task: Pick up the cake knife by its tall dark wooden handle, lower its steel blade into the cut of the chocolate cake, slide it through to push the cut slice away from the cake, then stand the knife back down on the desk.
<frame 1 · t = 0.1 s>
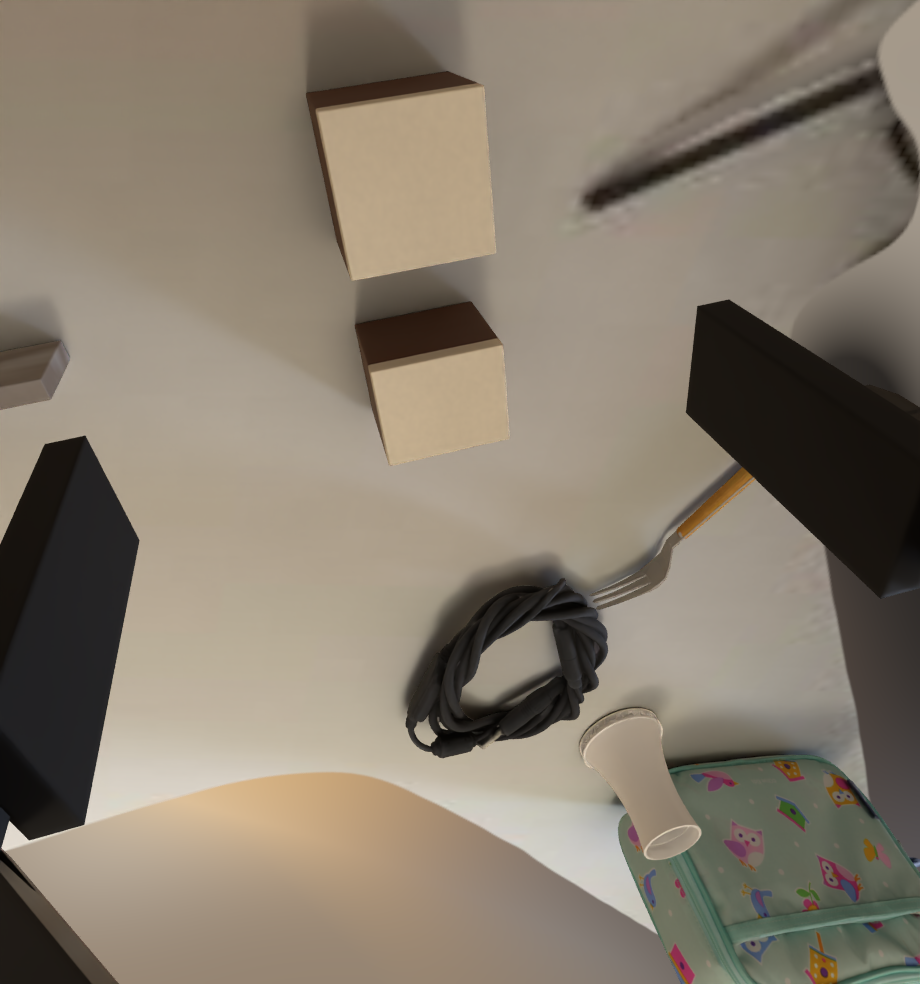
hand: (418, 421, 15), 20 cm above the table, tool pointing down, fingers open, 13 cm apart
cable: (511, 650, 52), on the table
cake: (390, 160, 30), on the table
vase: (617, 733, 62), on the table
lunch box: (724, 777, 72), on the table
cake slice: (420, 357, 36), on the table
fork: (698, 502, 47), on the table
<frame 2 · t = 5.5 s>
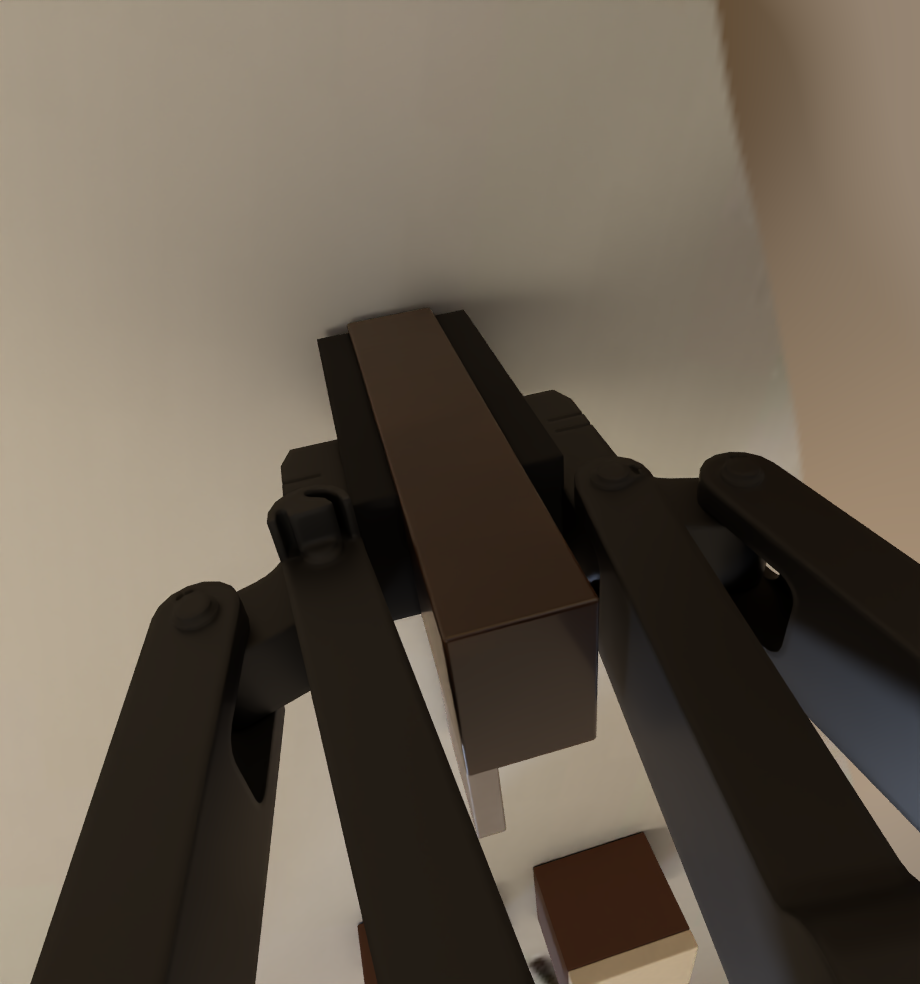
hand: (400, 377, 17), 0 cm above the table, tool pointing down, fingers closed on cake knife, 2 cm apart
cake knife: (398, 371, 17), on the table, touching gripper
cake: (588, 875, 37), on the table
cake slice: (415, 932, 36), on the table
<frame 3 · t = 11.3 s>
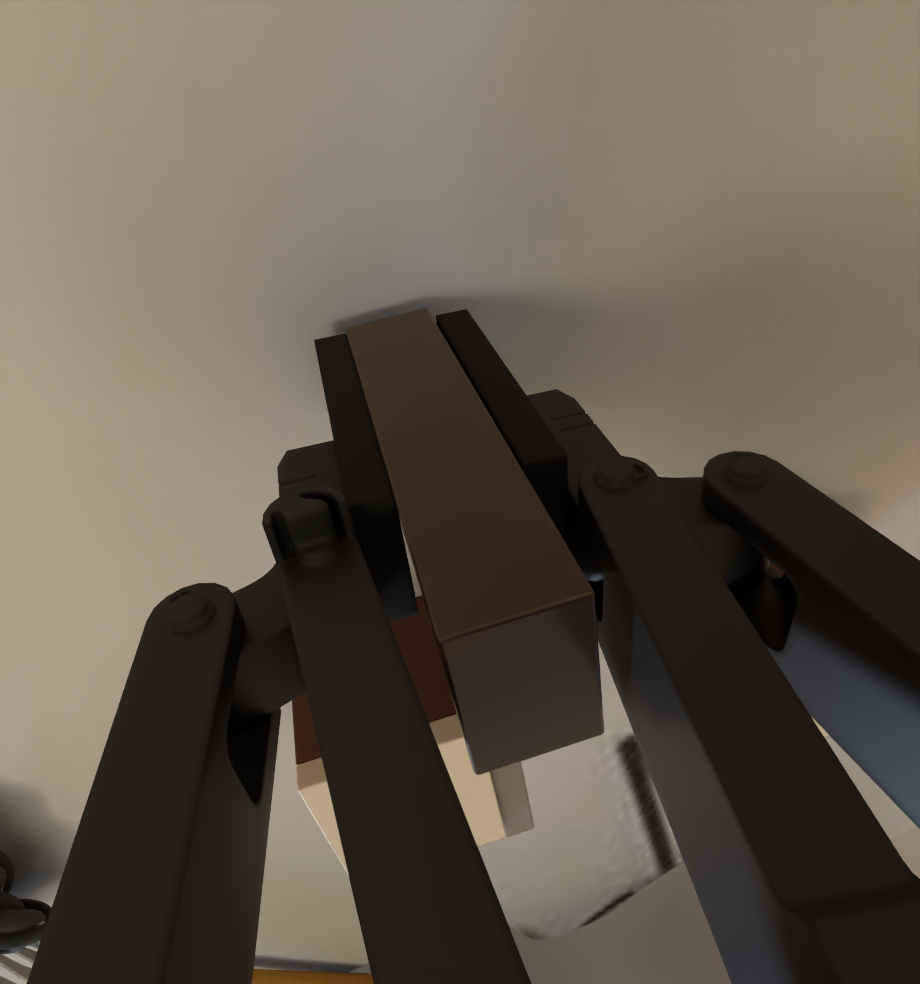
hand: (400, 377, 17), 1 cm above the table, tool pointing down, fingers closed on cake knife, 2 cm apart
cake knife: (399, 373, 17), point 1 cm above the table, touching cake slice, gripper
cake slice: (383, 670, 24), on the table, touching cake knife
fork: (212, 955, 33), on the table
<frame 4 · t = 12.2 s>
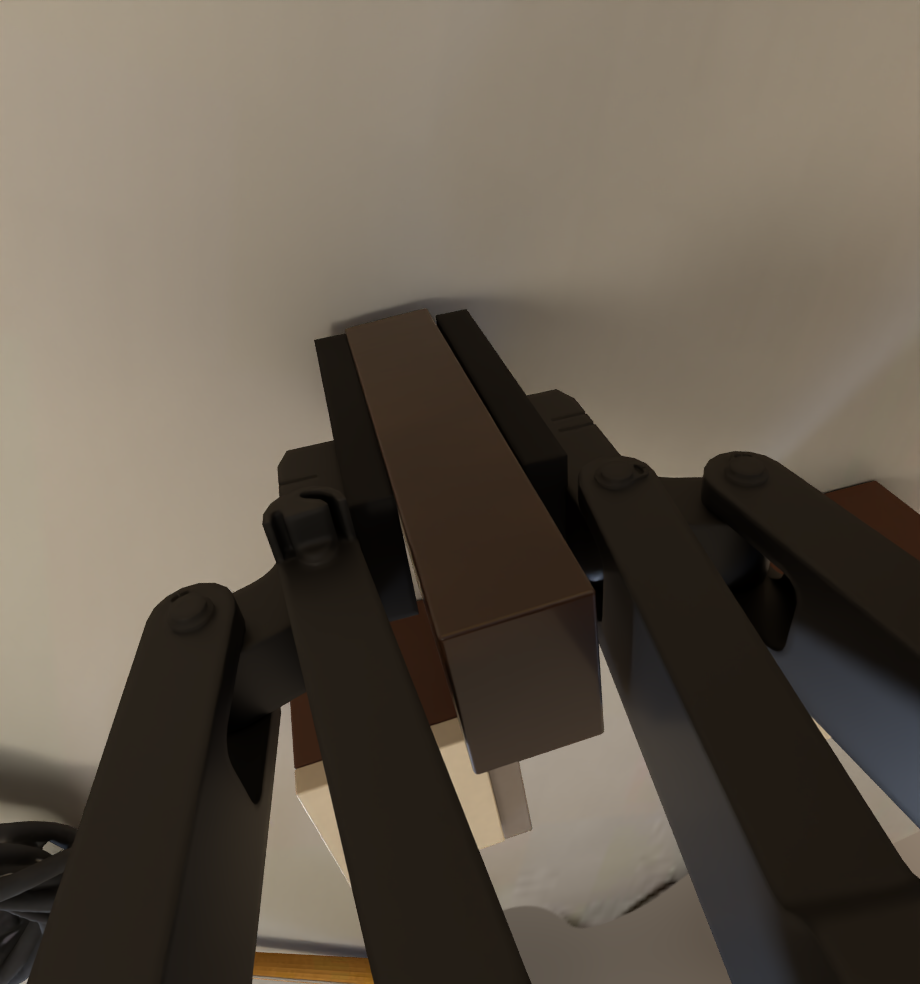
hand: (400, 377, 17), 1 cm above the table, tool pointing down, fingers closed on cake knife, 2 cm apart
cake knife: (399, 374, 17), point 1 cm above the table, touching cake slice, gripper
cake: (785, 560, 26), on the table
cake slice: (381, 673, 24), on the table, touching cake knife
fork: (268, 941, 34), on the table
when the fingers open (0 cm above the table, at t = 18.1 s): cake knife stays where it is, on the table.
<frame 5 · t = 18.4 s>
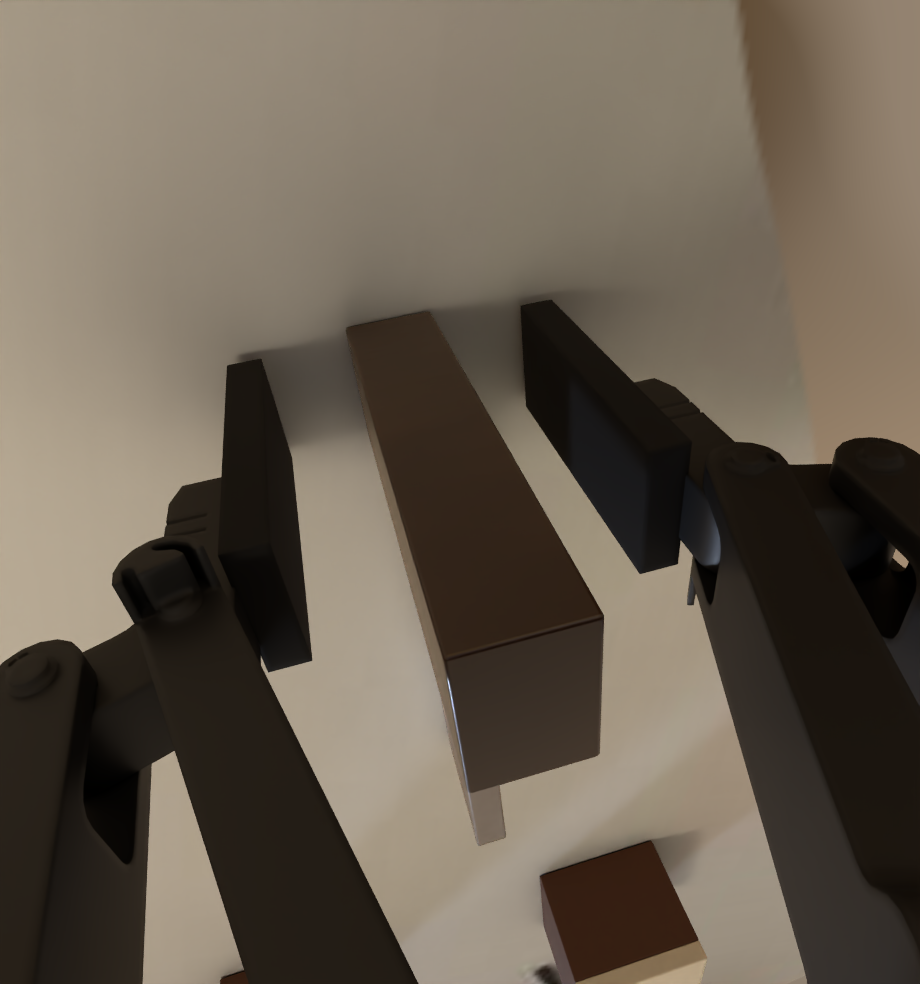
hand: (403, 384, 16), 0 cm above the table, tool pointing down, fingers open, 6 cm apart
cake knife: (398, 376, 17), on the table
cake: (595, 884, 37), on the table
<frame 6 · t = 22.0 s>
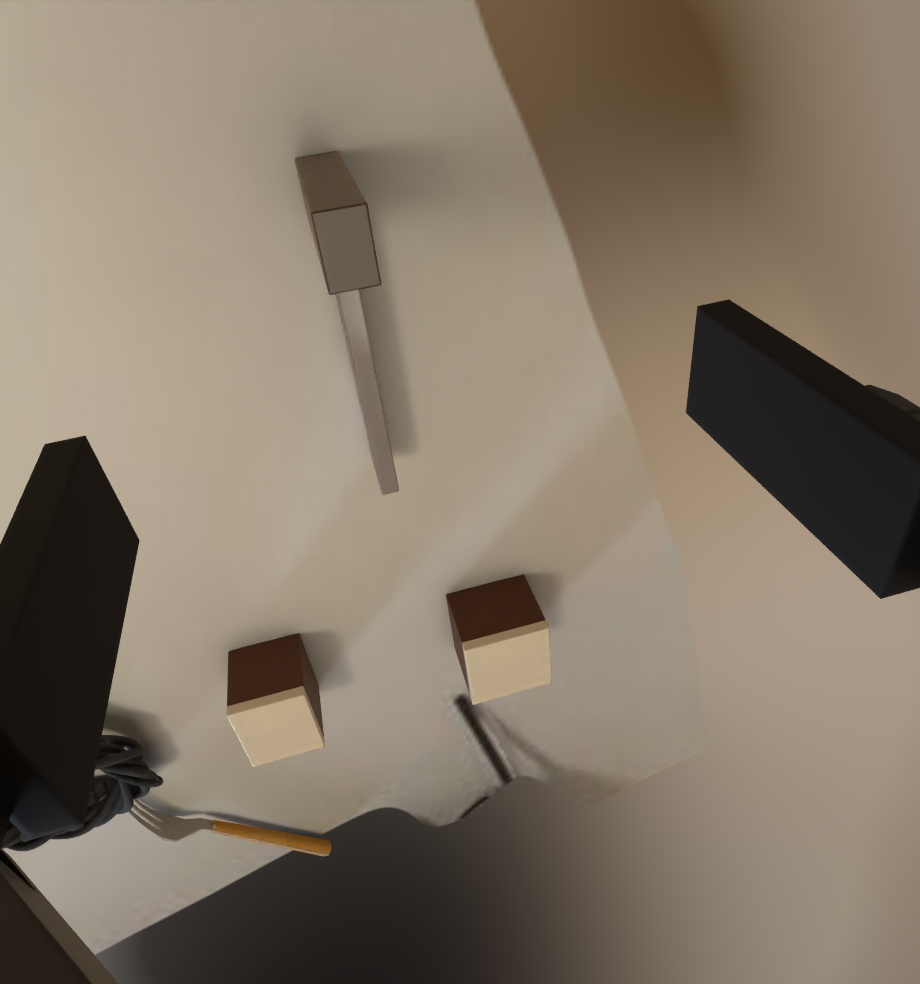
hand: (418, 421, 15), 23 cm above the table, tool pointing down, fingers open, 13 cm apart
cable: (37, 762, 50), on the table
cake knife: (323, 188, 33), on the table
cake: (488, 612, 53), on the table
cake slice: (275, 669, 50), on the table
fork: (235, 818, 60), on the table
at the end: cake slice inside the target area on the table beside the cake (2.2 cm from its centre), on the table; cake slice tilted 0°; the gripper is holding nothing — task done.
